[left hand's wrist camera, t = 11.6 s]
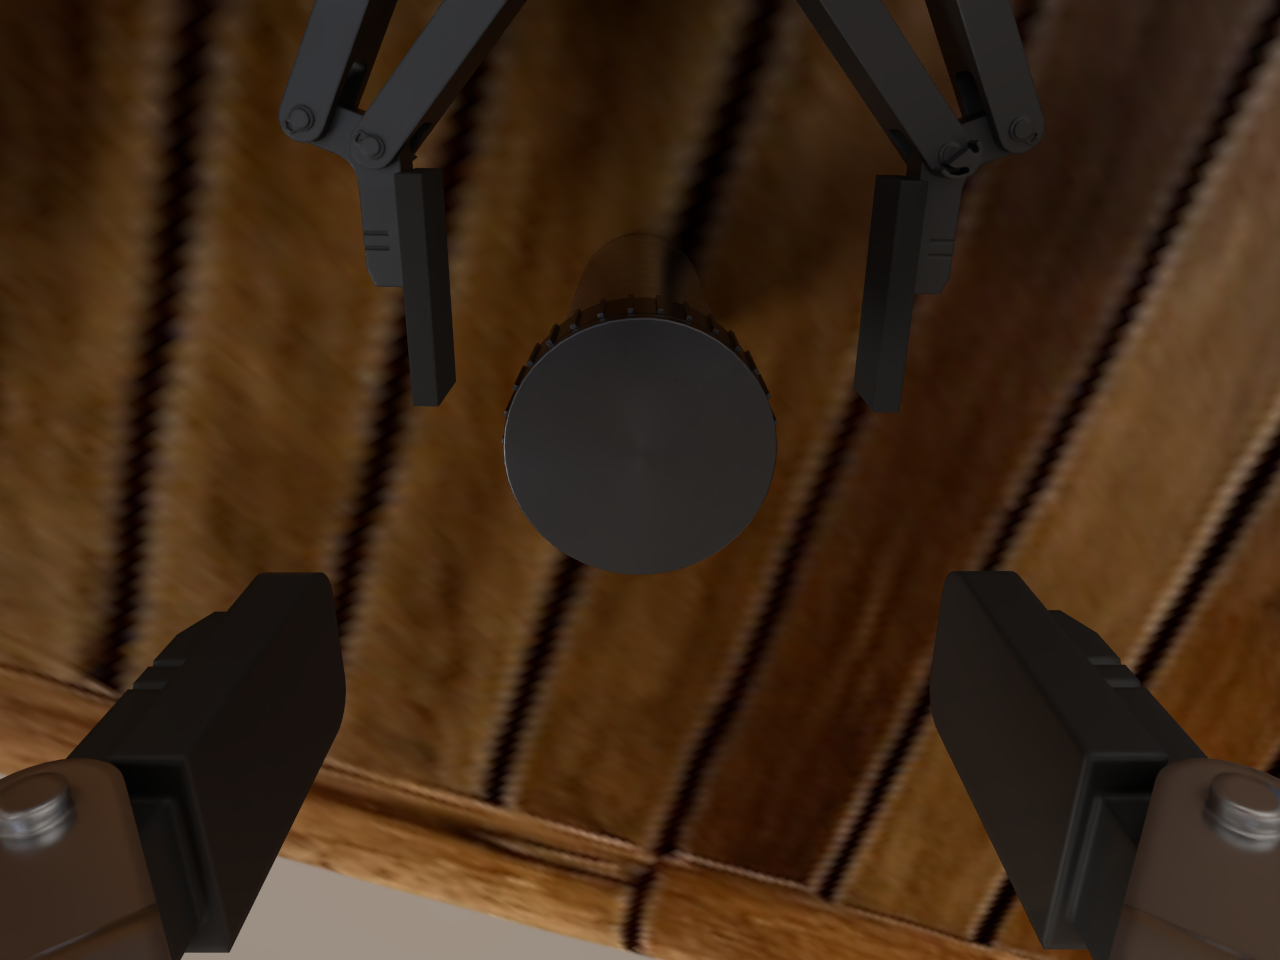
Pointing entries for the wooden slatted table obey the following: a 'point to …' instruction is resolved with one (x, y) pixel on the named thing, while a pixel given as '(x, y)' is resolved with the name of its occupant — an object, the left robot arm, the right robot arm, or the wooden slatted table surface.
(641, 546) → the lid
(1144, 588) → the wooden slatted table surface
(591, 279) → the jar
